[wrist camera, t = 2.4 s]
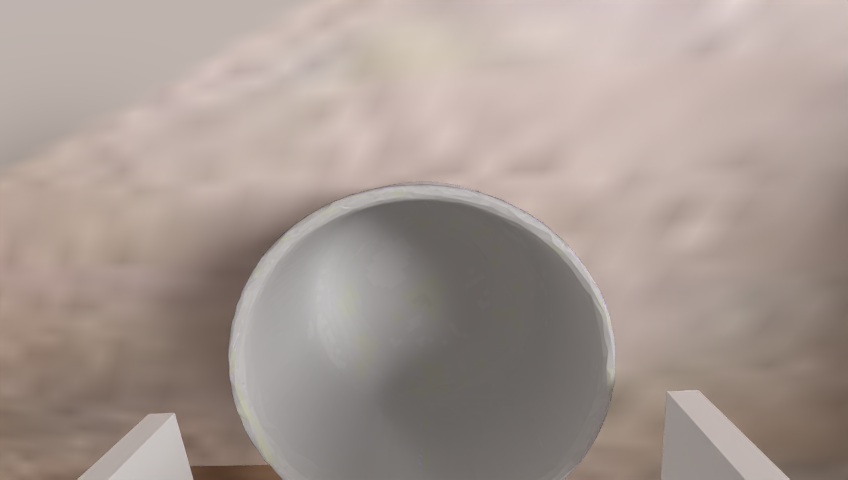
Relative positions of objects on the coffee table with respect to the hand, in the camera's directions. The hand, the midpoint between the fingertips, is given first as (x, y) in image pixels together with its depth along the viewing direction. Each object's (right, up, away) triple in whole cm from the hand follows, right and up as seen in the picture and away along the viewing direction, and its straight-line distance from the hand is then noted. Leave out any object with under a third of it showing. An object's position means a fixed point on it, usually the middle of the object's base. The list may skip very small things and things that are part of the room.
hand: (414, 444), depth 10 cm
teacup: (+1, +2, +8) cm, 9 cm away
